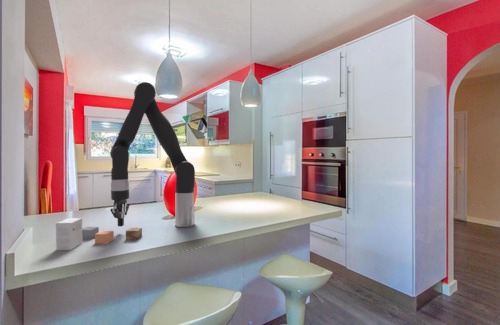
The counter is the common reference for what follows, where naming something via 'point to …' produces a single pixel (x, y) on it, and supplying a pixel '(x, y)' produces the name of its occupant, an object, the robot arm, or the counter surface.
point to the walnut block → (133, 233)
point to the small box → (68, 233)
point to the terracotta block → (104, 237)
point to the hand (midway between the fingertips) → (120, 225)
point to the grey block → (89, 232)
